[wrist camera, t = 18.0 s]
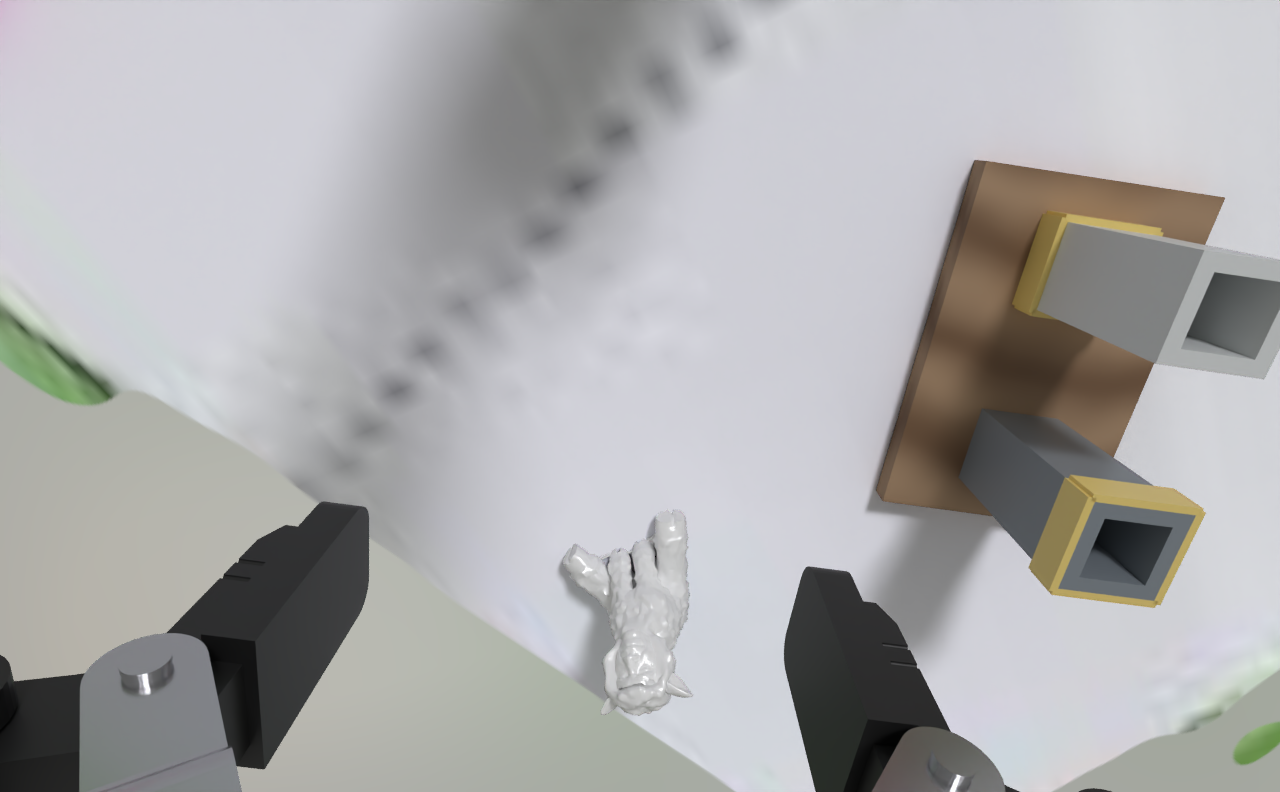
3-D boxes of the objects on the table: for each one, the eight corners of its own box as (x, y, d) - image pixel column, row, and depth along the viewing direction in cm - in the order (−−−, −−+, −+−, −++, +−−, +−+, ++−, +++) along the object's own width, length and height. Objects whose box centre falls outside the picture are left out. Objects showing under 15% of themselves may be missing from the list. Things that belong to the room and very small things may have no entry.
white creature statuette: (680, 499, 48) (689, 609, 37) (726, 593, 51) (747, 721, 40) (560, 546, 50) (534, 665, 39) (611, 634, 53) (600, 769, 41)
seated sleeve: (1044, 209, 40) (1199, 238, 28) (1141, 224, 40) (1333, 259, 29) (1010, 307, 42) (1143, 370, 30) (1103, 320, 42) (1268, 389, 31)
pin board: (974, 160, 40) (1022, 163, 35) (1205, 195, 41) (1285, 204, 35) (876, 490, 48) (902, 533, 43) (1070, 516, 48) (1120, 562, 43)
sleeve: (977, 401, 44) (1090, 493, 33) (1065, 414, 44) (1207, 509, 33) (950, 481, 46) (1047, 594, 35) (1035, 493, 46) (1158, 608, 35)
